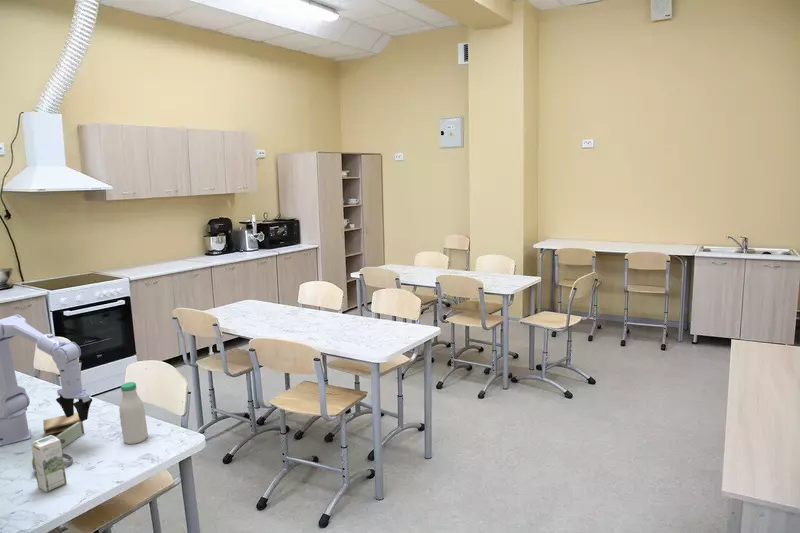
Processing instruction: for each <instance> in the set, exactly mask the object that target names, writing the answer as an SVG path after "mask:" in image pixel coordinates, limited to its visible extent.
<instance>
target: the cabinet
mask: <svg viewBox="0 0 800 533" xmlns="http://www.w3.org/2000/svg"><path fill="white" fill-rule="evenodd" d="M77 422H80V423H81V430H82V435H84V434H85V429H84V428H85V427H84V423H83V422H84V421H82V422H81V421H80V419H79V416H78V412H77V411H76V412H74V415H73V416H71V417H68V418H67V417H66V415H65V414H64V415H61V416H56V417H52V418H47V419H43V433H44V437H47V436H50V435H52V436H54V437H56V436H57V435H59V434H60V433H62V432H63V431H65V430H66V429H68V428H69V427H71V426H73V425H74V424H76V423H77ZM56 438H57V437H56Z"/></svg>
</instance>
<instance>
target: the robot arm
mask: <svg viewBox="0 0 800 533" xmlns="http://www.w3.org/2000/svg"><path fill="white" fill-rule="evenodd" d="M16 336H19V337H21V338H23V339H26V340H27V341H30V342H32V343H34V344H36V348H37V349H38V350H39V351H41V352H44V353H45V354H47V355H49V356H50V357H52V360H53V362H54V363H55V365H56V368H57V370H58V371H59V378H60V384H61V388H60V389H57V390H56V391H57V392H56V393H57V396H59V397H58V398H56V399H55V401H56V403H58V404H59V405H60V407H61V408H62V410H63V412H64V415H66V417H67V418H68V417H71V416H73V415H74V413H75V412H74V411H75V410H76V413H77V412H78V416H79V419H80V421H81V422H82V421H83V422H84V421H87V420H88V418H89V410H90V407H91V404H92V402H93V398H92V397H90V394H88V393H87V392H86V391H87V388H85V387H83V385H82V384H83V383H82V377H81V371H80V365H79V358H80V357H81V355H82V351H81V350H82V349H81V348H80V346H79V345H78V344H77V343H76V342H75V341H70V342H69V341H64V340H62V339H60V338H58V337H56V336H54V334H53V333H45V334H44V333H42V332H40V331H39V330H38V329H37V328H36V329H35V328H34V327H33V326H32V325H30V324H29V323H28V321H27V319H26V318H25V317H22V316H21V315H20V314H13V315H11V316H8V317H4V318H1V319H0V447H2V446H5V445H9V444H14V443H18V442H22V441H26V440H30V439H31V437H32V436H31V435H32V432H31V431H32V430H31V429H30V428H29V425H28V424H29V423H28V419H27V413H26V411H28V407H29V406H30V402H31V401H30V397H29V395H28V393H27V391H26V388H25V387H22V386H19V385H18V380H17V376H16V370H15V367H14V361H13V356H12V352H11V347H10V342H11V340H13V339H14V338H15V337H16ZM75 400H77V401H75Z"/></svg>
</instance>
